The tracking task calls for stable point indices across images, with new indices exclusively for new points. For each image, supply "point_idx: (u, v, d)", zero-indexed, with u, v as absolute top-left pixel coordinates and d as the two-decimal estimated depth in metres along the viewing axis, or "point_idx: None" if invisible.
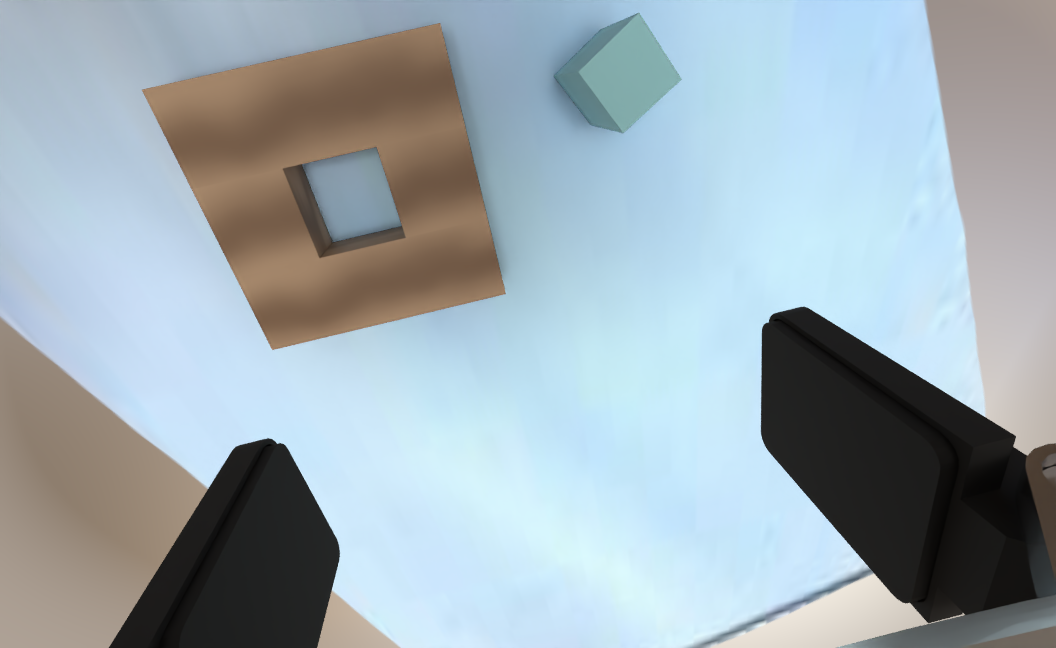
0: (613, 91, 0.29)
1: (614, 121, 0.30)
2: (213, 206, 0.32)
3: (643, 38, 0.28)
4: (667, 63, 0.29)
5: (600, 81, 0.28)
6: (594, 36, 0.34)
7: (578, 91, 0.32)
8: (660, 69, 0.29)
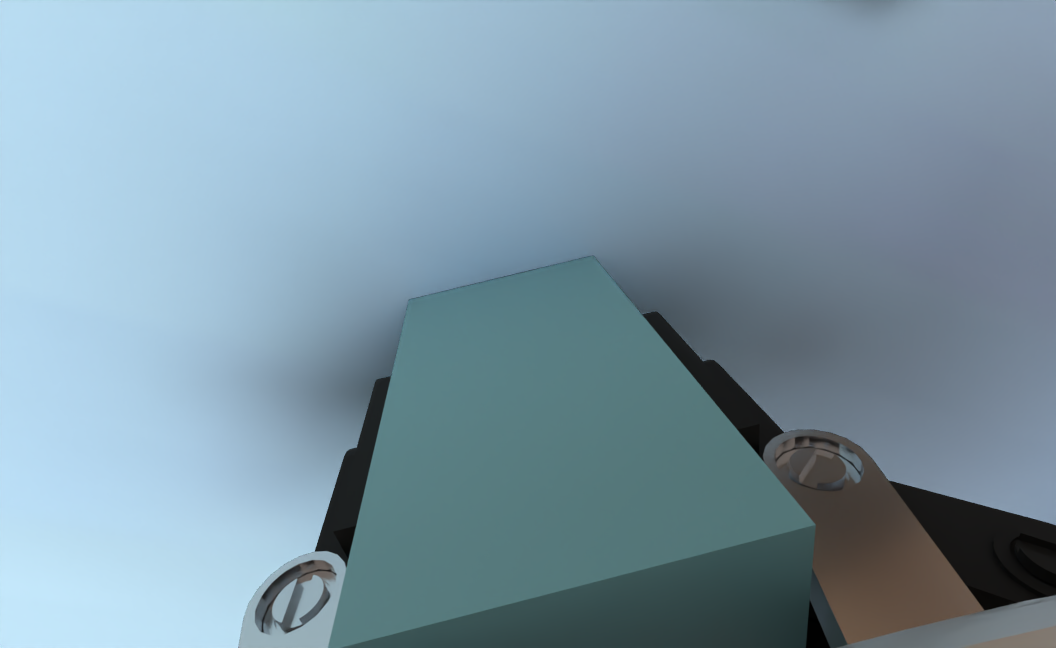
0: None
1: (421, 614, 0.04)
2: None
3: None
4: None
5: (684, 605, 0.05)
6: None
7: (576, 357, 0.08)
8: None
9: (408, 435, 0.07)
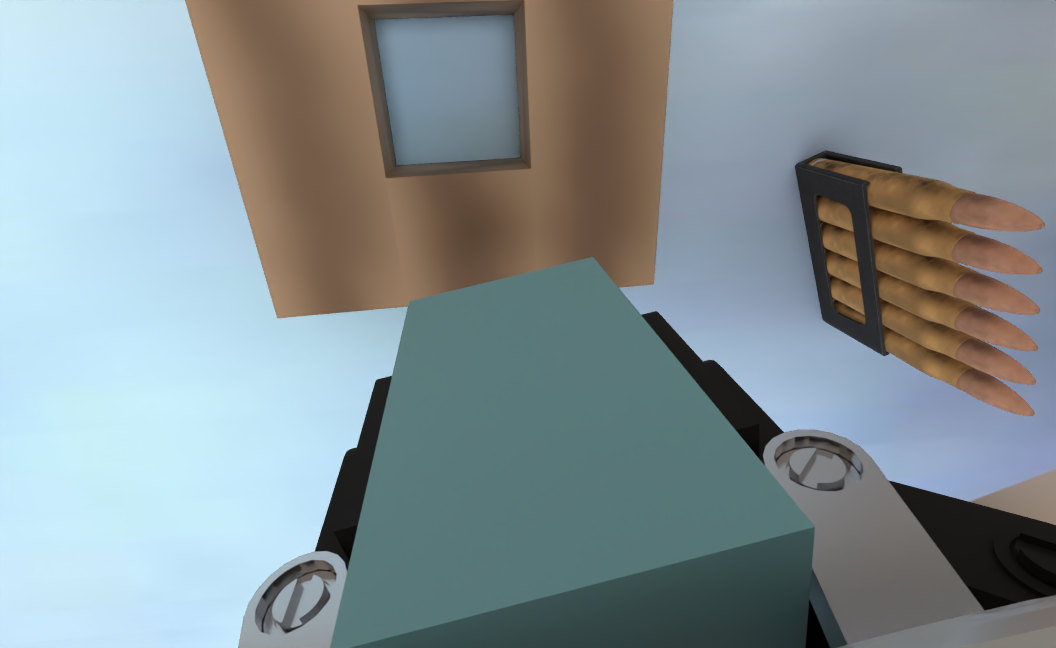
0: None
1: (423, 616, 0.04)
2: None
3: None
4: None
5: (683, 606, 0.05)
6: None
7: (576, 359, 0.08)
8: None
9: (409, 437, 0.07)
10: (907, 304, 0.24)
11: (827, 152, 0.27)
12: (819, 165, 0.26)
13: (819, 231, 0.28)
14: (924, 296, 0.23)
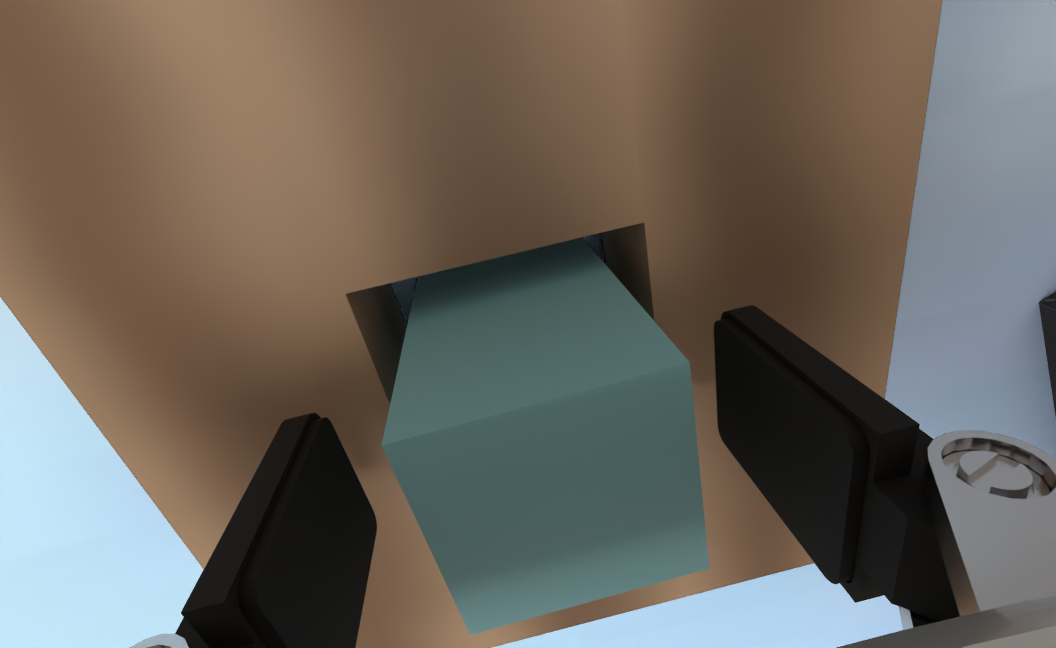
0: (549, 453, 0.07)
1: (440, 424, 0.07)
2: None
3: (642, 568, 0.09)
4: (537, 609, 0.09)
5: (609, 421, 0.07)
6: None
7: (550, 290, 0.10)
8: (532, 591, 0.08)
9: (425, 343, 0.09)
10: None
11: None
12: None
13: None
14: None
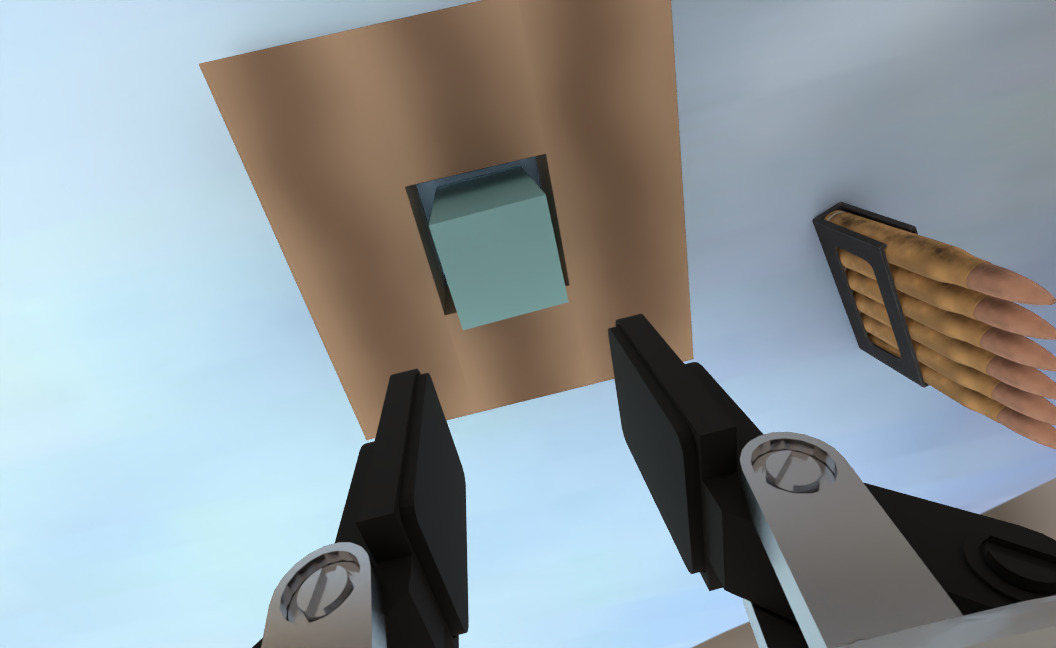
0: (493, 234, 0.18)
1: (450, 218, 0.18)
2: (488, 24, 0.19)
3: (537, 298, 0.20)
4: (492, 318, 0.20)
5: (516, 220, 0.18)
6: None
7: (501, 186, 0.21)
8: (489, 307, 0.20)
9: (442, 206, 0.20)
10: (938, 349, 0.25)
11: (842, 204, 0.28)
12: (836, 220, 0.27)
13: (844, 276, 0.29)
14: (954, 343, 0.24)
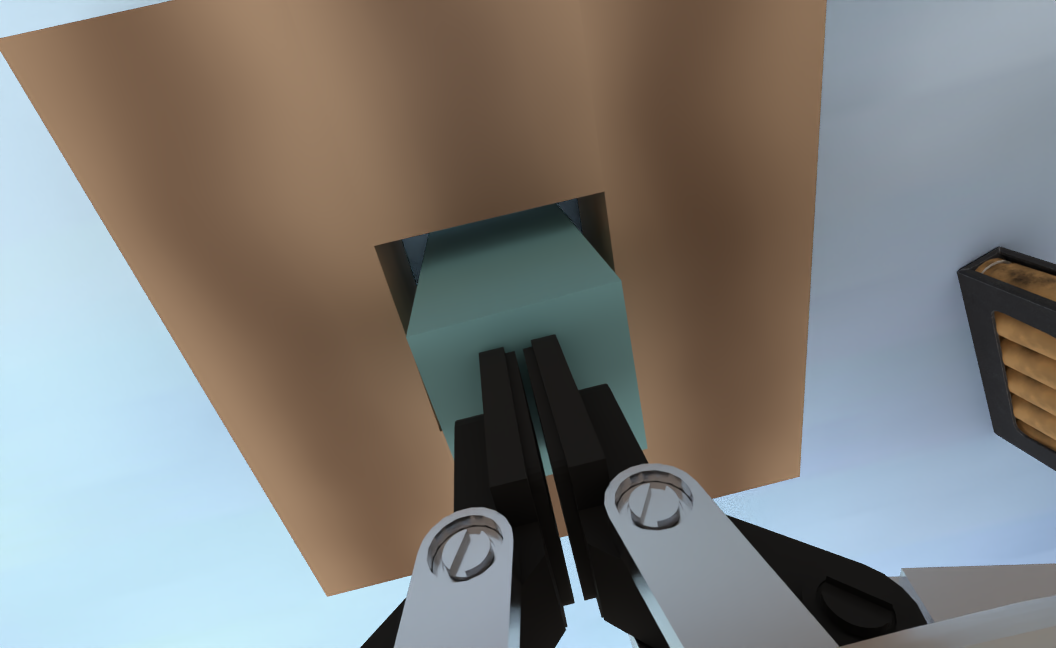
0: None
1: (447, 324, 0.10)
2: None
3: None
4: None
5: (566, 324, 0.10)
6: None
7: (531, 244, 0.13)
8: None
9: (435, 282, 0.12)
10: None
11: (1003, 250, 0.20)
12: (998, 274, 0.19)
13: (998, 348, 0.21)
14: None
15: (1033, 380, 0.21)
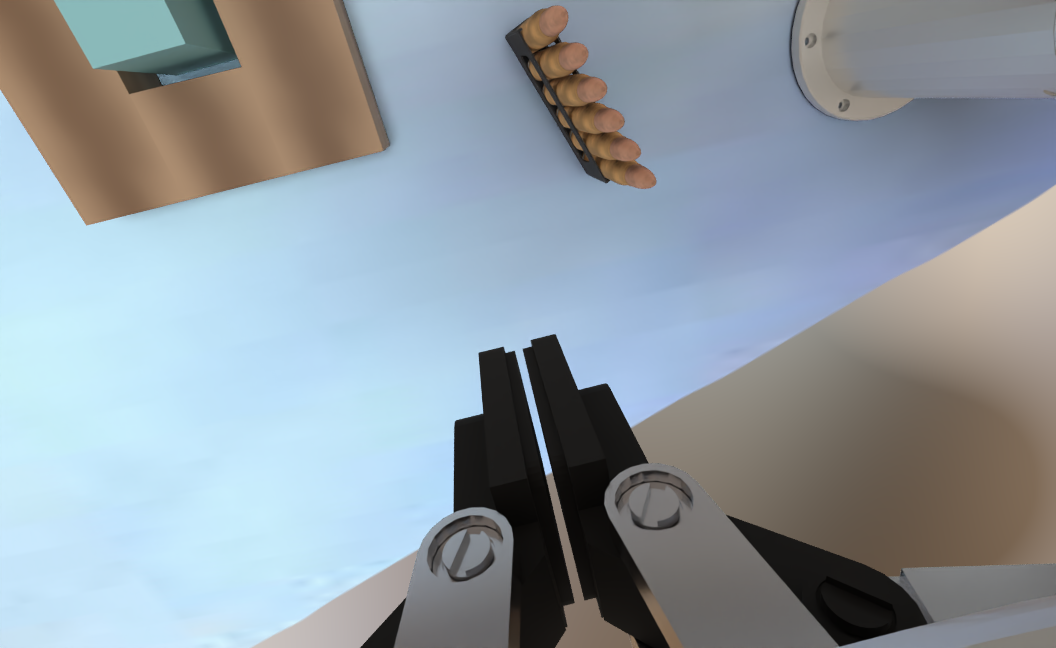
0: None
1: None
2: None
3: (154, 38, 0.23)
4: (117, 57, 0.23)
5: None
6: None
7: None
8: (111, 45, 0.23)
9: None
10: (581, 125, 0.28)
11: (526, 19, 0.31)
12: None
13: (539, 89, 0.33)
14: (583, 113, 0.28)
15: None
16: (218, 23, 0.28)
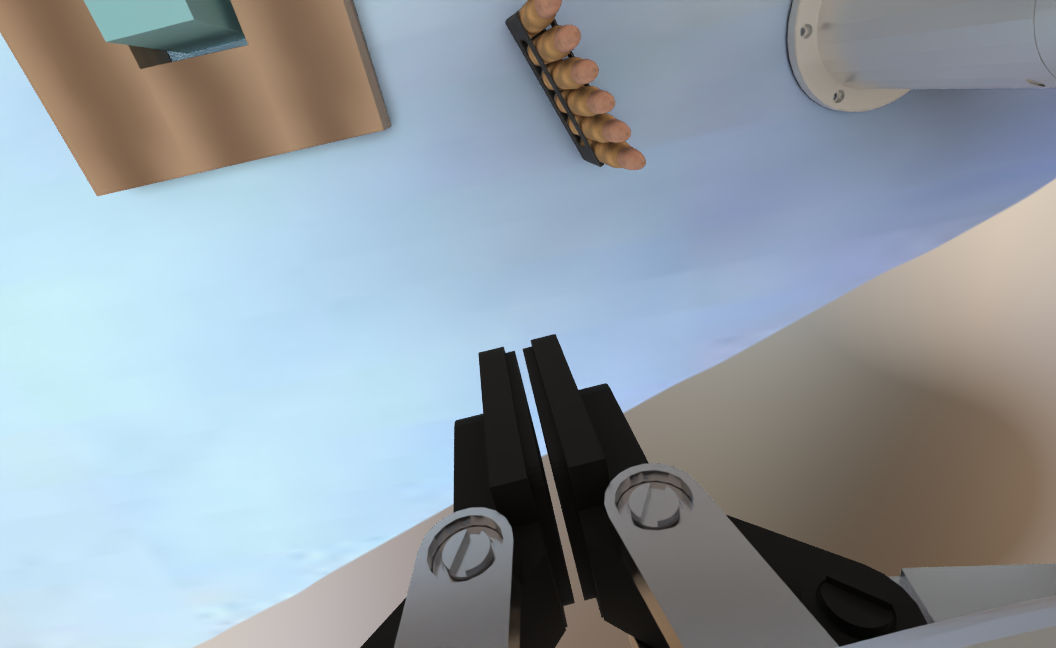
0: None
1: None
2: None
3: (164, 13, 0.24)
4: (128, 31, 0.24)
5: None
6: None
7: None
8: (123, 19, 0.24)
9: None
10: (575, 108, 0.29)
11: None
12: None
13: (538, 74, 0.33)
14: (577, 96, 0.28)
15: None
16: (226, 2, 0.28)
